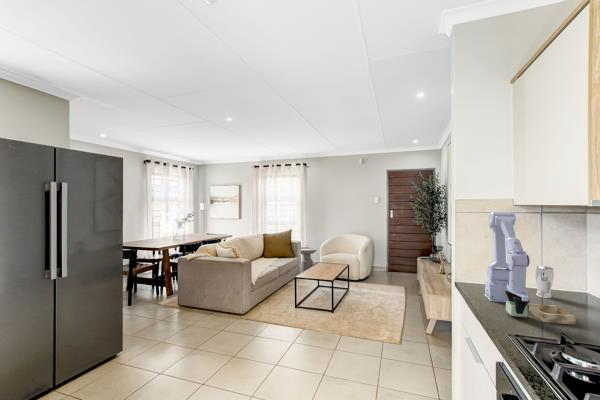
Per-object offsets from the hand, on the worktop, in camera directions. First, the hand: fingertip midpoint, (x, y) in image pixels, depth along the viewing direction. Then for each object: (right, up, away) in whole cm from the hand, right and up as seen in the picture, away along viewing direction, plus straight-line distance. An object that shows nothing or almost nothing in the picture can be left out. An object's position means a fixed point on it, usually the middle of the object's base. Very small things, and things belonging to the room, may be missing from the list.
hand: (516, 310), depth 124 cm
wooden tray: (+14, -2, -1) cm, 14 cm away
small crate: (0, -1, 0) cm, 1 cm away
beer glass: (+31, -1, +22) cm, 38 cm away
